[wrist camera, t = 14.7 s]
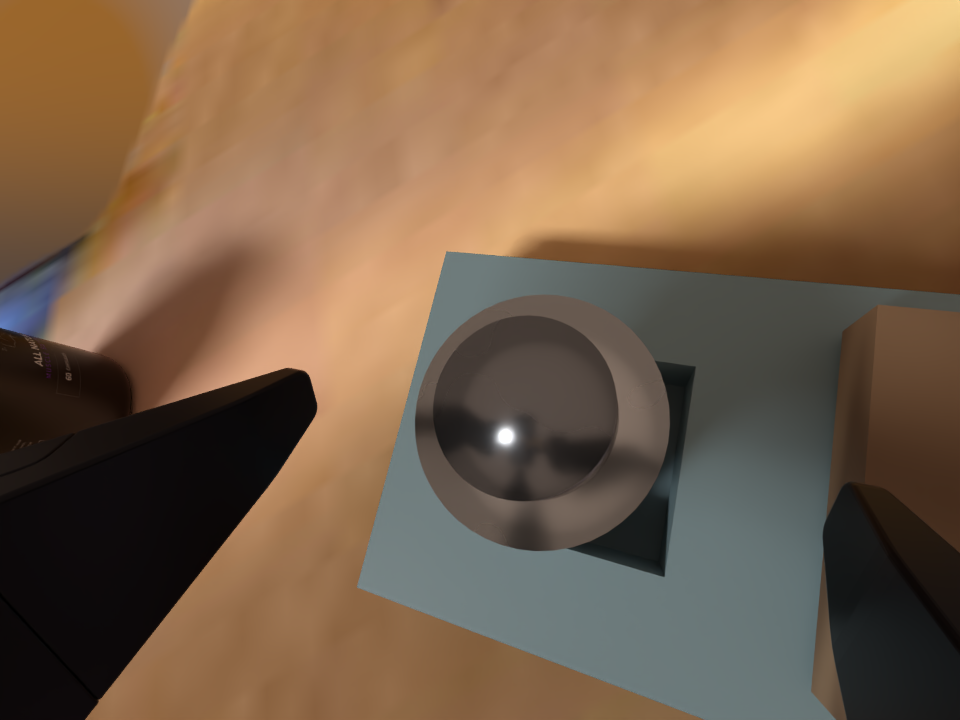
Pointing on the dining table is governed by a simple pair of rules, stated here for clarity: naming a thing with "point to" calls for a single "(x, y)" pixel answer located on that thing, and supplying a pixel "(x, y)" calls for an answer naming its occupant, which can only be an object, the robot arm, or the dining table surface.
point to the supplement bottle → (55, 390)
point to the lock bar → (895, 434)
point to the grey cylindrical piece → (542, 422)
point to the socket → (659, 494)
